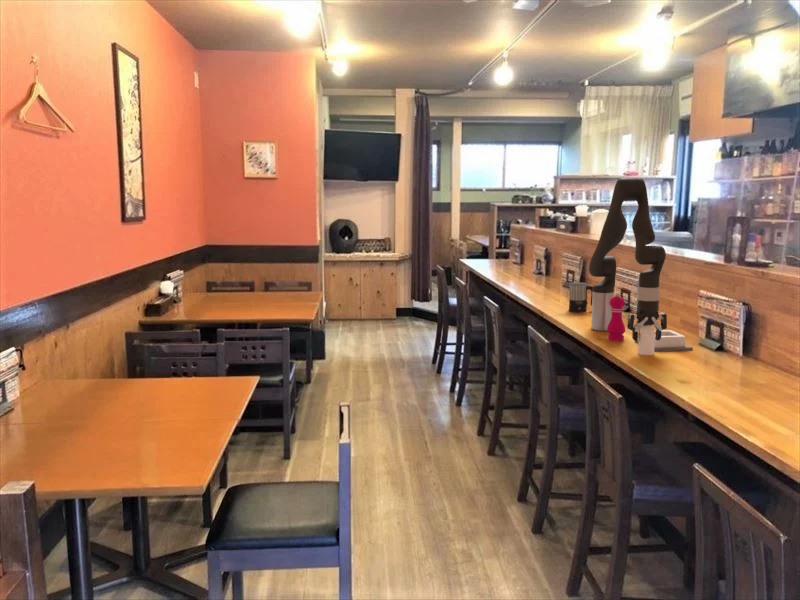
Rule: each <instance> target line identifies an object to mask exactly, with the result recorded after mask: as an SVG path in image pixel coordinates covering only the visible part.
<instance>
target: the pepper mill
mask: <svg viewBox="0 0 800 600" xmlns="http://www.w3.org/2000/svg"><path fill="white" fill-rule="evenodd" d="M610 305H611V307H612V308H611V312H612V317H611V320H610V322H609V324H608V327H607V331H606V332H608V335H607V338H608V339H609V340H608V341H611V340H612V341H611V342H623V341H624V338H625V336H624V334H625V332H626V325H625V323H624V320H623V312H624V307H625V305H626V301H625V299H624V298H623V297H622V296H621V295H620V293H619V292H616V293H614V297H612V298H611V300H610Z"/></svg>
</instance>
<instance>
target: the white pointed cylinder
mask: <svg viewBox="0 0 800 600" xmlns="http://www.w3.org/2000/svg"><path fill="white" fill-rule="evenodd" d="M654 331H655V330H654V329H653V327H652V325H643V326H642V327H640V329H639V330H638V343H637V345H638V347H637V355H640V356H653V355H655V351H654V346H655V332H654Z"/></svg>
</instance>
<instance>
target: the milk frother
mask: <svg viewBox="0 0 800 600" xmlns="http://www.w3.org/2000/svg"><path fill="white" fill-rule="evenodd" d="M587 284H588V283H586V282H580V281H579V282H569V283H568V286H569V293H568V294H569V295H568V296H569V298H568V303H569V305H568V311H569V312H571V313H572V312H573V313H584V312H587V307H588V304H589V303H588V290H590V292H591V294H590V306H591V307H592V289H593V285H587Z"/></svg>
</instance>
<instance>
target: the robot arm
mask: <svg viewBox="0 0 800 600" xmlns="http://www.w3.org/2000/svg"><path fill="white" fill-rule="evenodd" d="M624 202H636V203H637V206H638V207H637V210H636V213H635V215H634V217H633V219H632V222H631V223H632V224H631V227H632V232H633V235H634V239H635V253H634V255H635V256H634V257H635V261H636V262H637V264H639V265H643V266H645V265H649V266H650V268H649V269H646V270H642V271H641V272H640V273H639V278H638V279H639V280H638V291H637V304H636V305H637V307H636V308H637V310H636V311H637V312H636V314H635V313H633V314H632V313H628V317H627V325H626V326H627V330H630V331H632V334H631V335H632V340H633V341H634V342H635V341H638V334H639V331H640V329H641V328H642V326H643V325H651V326H653V327H654V328H655V331H656V334H655V339H656V340H660V339H661V331H662V330H666V329H667V328H668V323H667V322H668V315H667V313H665V312H661V313H659V309H660V306H659V305H660V276H661V273H662V269H663V266H664V264H665V260H666V256H667V253H666V249H665V248H664V247H663V246H662V245H650V244H652V243H654V241H655V239H656V235H655V231H654V227H653V223H652V221H651V216H650V207H649V198H648V190H647V185H646V182H645V180H644V178H642V177H621V178H618V179H617V181H616V182H615V185H614V187H613V192H612V197H611V202H610V206H609V210H608V212H607V215H606V218H605V220H604V224H603V226H602V230H601V232H600V237H599V240H598V243H597V244H596V247H595V249H594V252H593V253H592V256H591V258H590V261H589V265H588V271H589V274H590V275H591V276H592V277H595V278H603V277H604V278H603V280H601V281H600V282H597V283H595V284H593V285H592V287H593V289H592V306H591V322H590V323H591V324H590V326H591V327H590V328H591V330H593V329H594V331H599V332H604V331H605V332H608V331H607V327H608V324H609V322H610V320H611V317H612V312H611V308H612V307H611V305H610V300H611V298H612V297H615V287H616V277H617V276H616V275H617V261H616V258H615V256H612V255H608V253H610V252H611V251H612V250H613V249H615V248H616V247H617V246H618V245H619V244H620V243H621V242H622V241H623V240H624V237H625V234H626V232H627V228H628V223H627V218H625V215H624V213H623V210H622V205H623V203H624ZM636 319H637V320H636ZM658 319H660V323H659V322H658Z"/></svg>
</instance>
